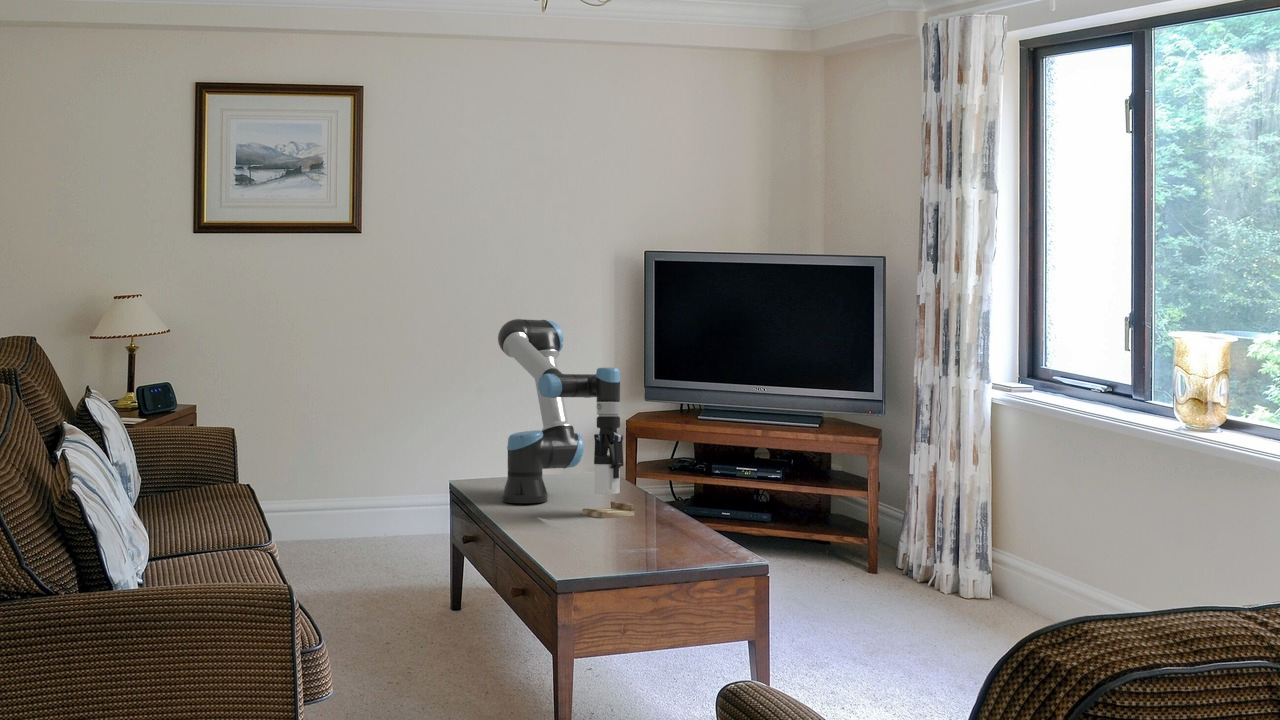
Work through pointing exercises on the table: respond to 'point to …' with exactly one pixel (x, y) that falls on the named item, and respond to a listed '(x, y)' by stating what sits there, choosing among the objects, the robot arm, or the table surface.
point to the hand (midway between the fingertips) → (608, 488)
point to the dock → (611, 511)
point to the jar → (604, 475)
